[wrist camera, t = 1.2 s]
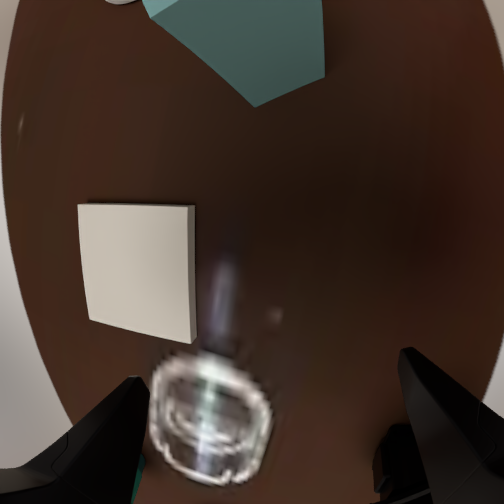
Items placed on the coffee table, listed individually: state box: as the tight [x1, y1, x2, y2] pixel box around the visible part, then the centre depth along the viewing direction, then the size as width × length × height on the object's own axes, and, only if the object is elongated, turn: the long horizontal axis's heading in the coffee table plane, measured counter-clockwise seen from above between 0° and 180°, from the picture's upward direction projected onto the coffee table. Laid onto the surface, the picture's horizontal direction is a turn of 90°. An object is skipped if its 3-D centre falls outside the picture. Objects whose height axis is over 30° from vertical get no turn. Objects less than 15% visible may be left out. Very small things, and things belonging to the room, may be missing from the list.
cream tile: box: [78, 203, 197, 344], centre depth 23 cm, size 10×10×1 cm
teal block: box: [142, 0, 325, 107], centre depth 11 cm, size 5×5×13 cm
